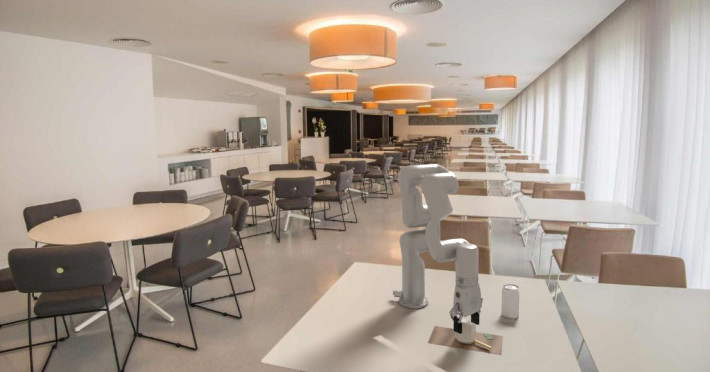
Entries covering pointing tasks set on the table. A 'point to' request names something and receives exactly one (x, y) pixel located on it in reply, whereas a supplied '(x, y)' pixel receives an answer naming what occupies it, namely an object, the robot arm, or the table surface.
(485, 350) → the dial board
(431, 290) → the table surface
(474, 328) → the knob
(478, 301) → the robot arm
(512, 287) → the can
